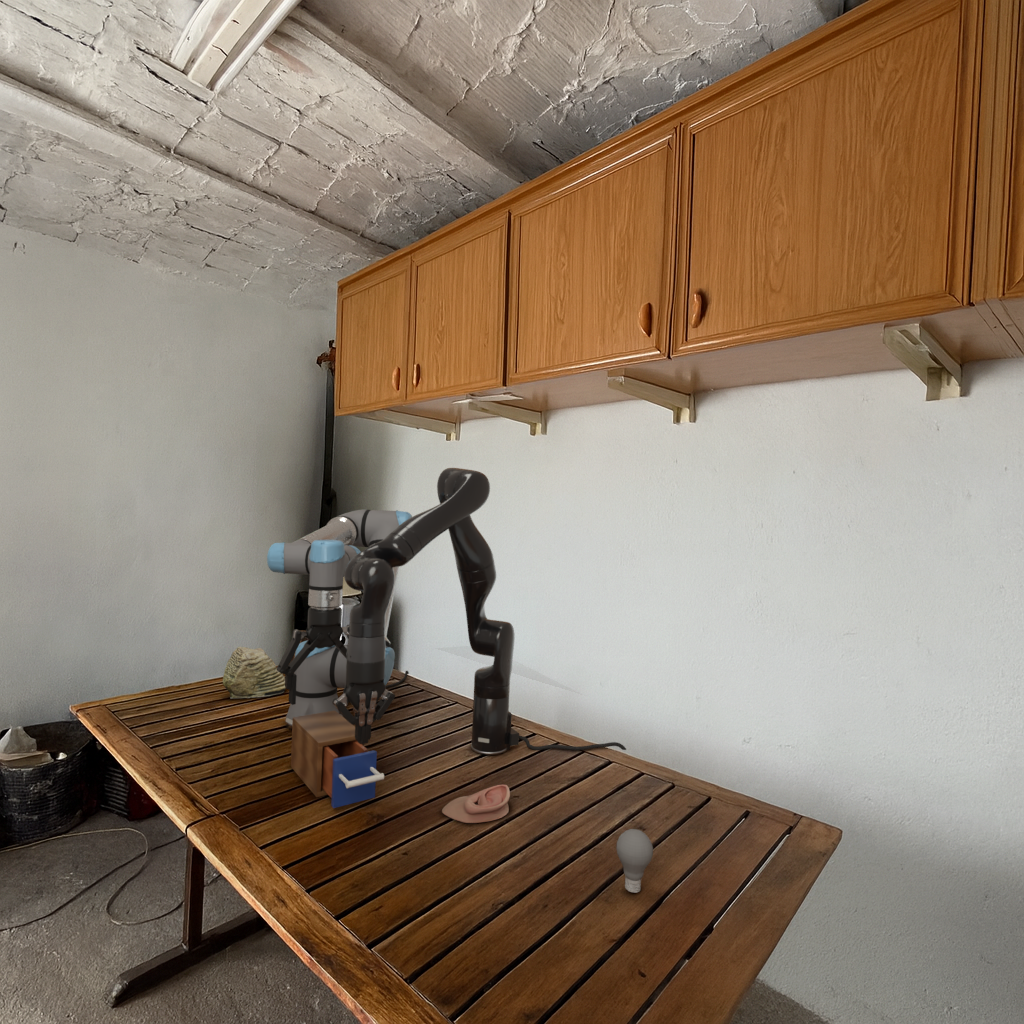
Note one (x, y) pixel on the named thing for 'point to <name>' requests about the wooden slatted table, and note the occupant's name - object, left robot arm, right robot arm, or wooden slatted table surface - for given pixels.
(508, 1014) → the wooden slatted table surface
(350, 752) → the drawer
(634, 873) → the light bulb
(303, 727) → the cabinet
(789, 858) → the wooden slatted table surface
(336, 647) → the left robot arm
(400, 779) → the wooden slatted table surface
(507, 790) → the anatomical model
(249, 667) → the fossil
